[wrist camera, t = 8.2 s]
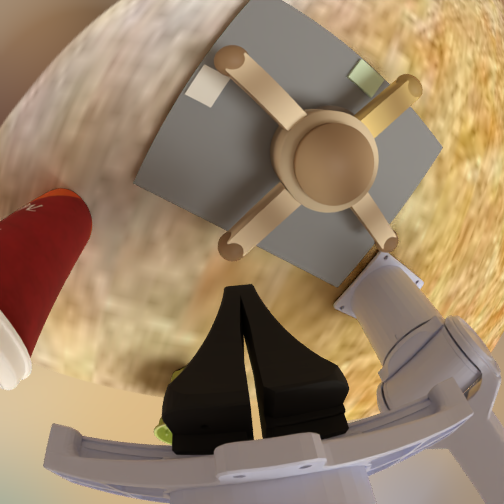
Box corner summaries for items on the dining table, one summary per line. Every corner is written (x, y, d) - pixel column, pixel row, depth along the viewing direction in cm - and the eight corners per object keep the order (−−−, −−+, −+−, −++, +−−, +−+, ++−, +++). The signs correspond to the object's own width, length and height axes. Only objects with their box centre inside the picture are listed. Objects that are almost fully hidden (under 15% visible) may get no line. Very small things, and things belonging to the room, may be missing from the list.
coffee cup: (46, 157, 17) (-89, 248, 4) (119, 206, 20) (25, 354, 7) (22, 233, 20) (-65, 341, 7) (85, 276, 23) (24, 411, 10)
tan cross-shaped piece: (297, 299, 25) (310, 332, 22) (124, 159, 17) (102, 174, 13) (443, 168, 20) (474, 183, 16) (317, -13, 12) (340, -34, 8)
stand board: (434, 144, 20) (444, 148, 19) (333, 280, 26) (338, 289, 25) (258, -6, 13) (261, -13, 12) (137, 178, 19) (131, 184, 18)
